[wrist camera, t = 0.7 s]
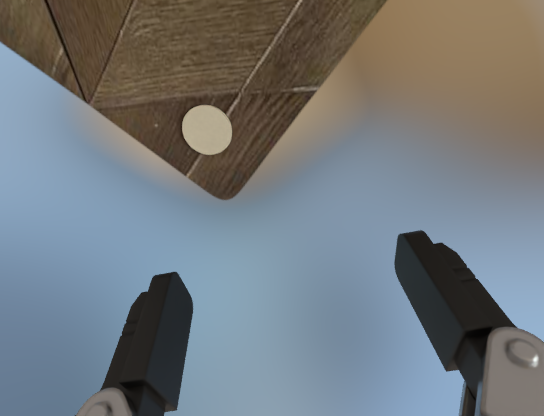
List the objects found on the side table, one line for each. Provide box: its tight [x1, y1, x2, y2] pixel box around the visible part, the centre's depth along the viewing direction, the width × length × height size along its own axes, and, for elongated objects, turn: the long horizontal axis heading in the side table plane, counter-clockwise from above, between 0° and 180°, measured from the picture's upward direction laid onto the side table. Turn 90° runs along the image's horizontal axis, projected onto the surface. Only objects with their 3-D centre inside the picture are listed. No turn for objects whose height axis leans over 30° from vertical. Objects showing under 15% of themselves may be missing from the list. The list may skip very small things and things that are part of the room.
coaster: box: [182, 105, 232, 155], centre depth 35 cm, size 6×6×1 cm
